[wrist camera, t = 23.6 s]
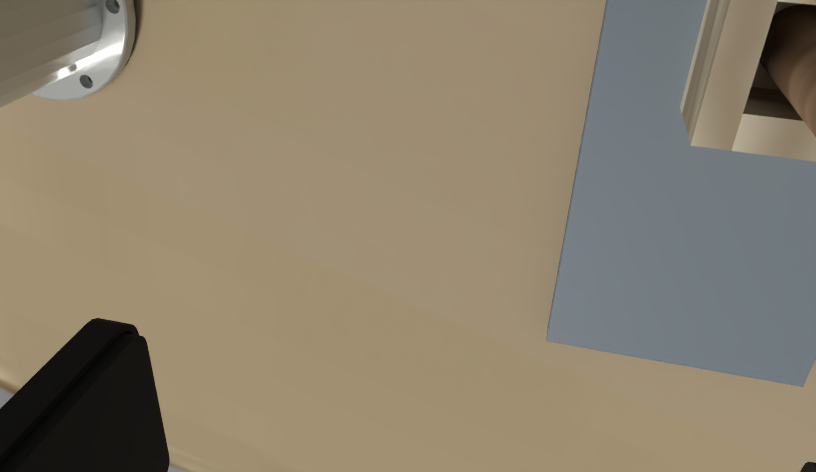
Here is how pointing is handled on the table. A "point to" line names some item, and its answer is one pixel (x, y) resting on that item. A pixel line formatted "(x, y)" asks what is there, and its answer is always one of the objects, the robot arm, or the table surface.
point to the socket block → (741, 86)
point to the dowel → (794, 58)
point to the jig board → (681, 221)
